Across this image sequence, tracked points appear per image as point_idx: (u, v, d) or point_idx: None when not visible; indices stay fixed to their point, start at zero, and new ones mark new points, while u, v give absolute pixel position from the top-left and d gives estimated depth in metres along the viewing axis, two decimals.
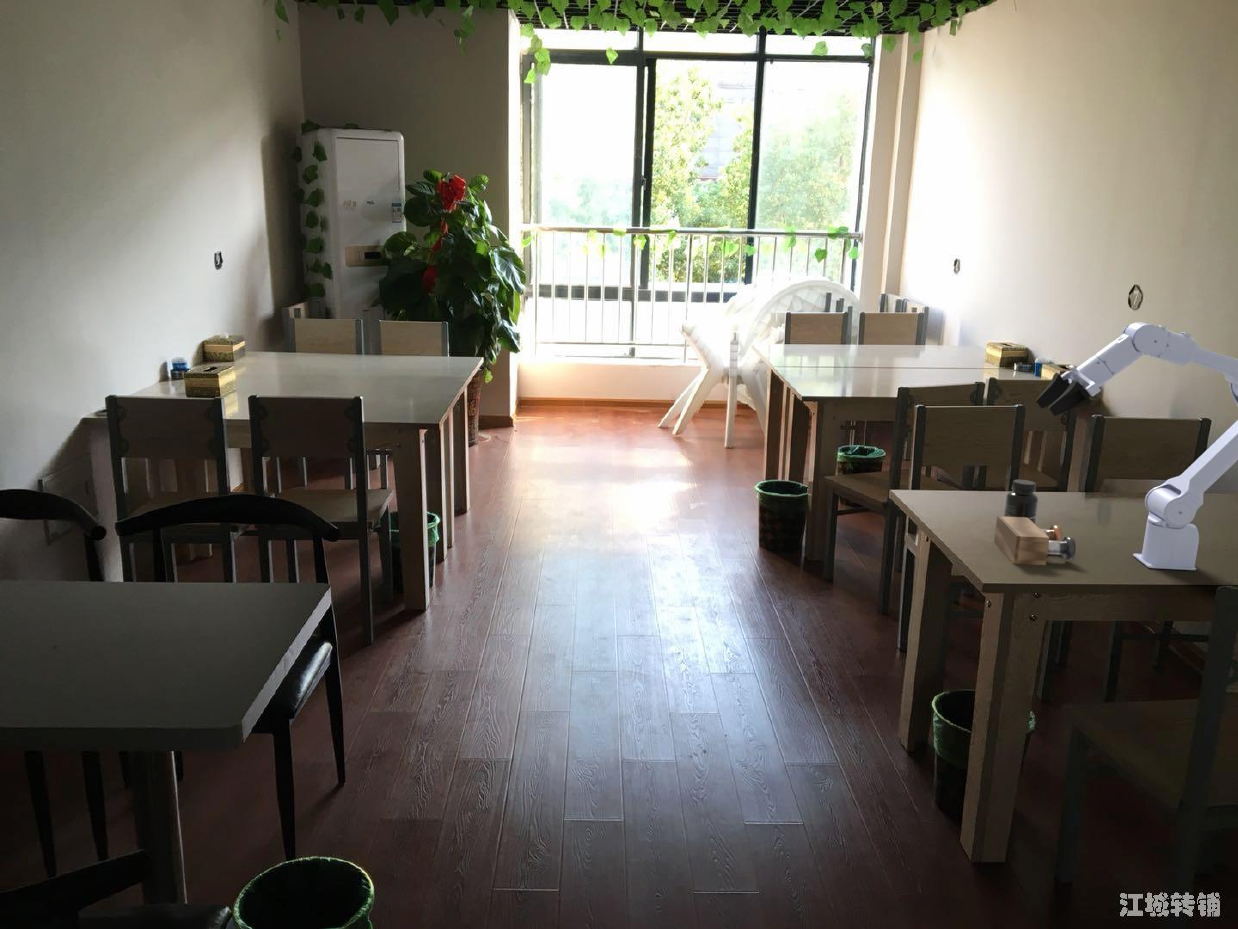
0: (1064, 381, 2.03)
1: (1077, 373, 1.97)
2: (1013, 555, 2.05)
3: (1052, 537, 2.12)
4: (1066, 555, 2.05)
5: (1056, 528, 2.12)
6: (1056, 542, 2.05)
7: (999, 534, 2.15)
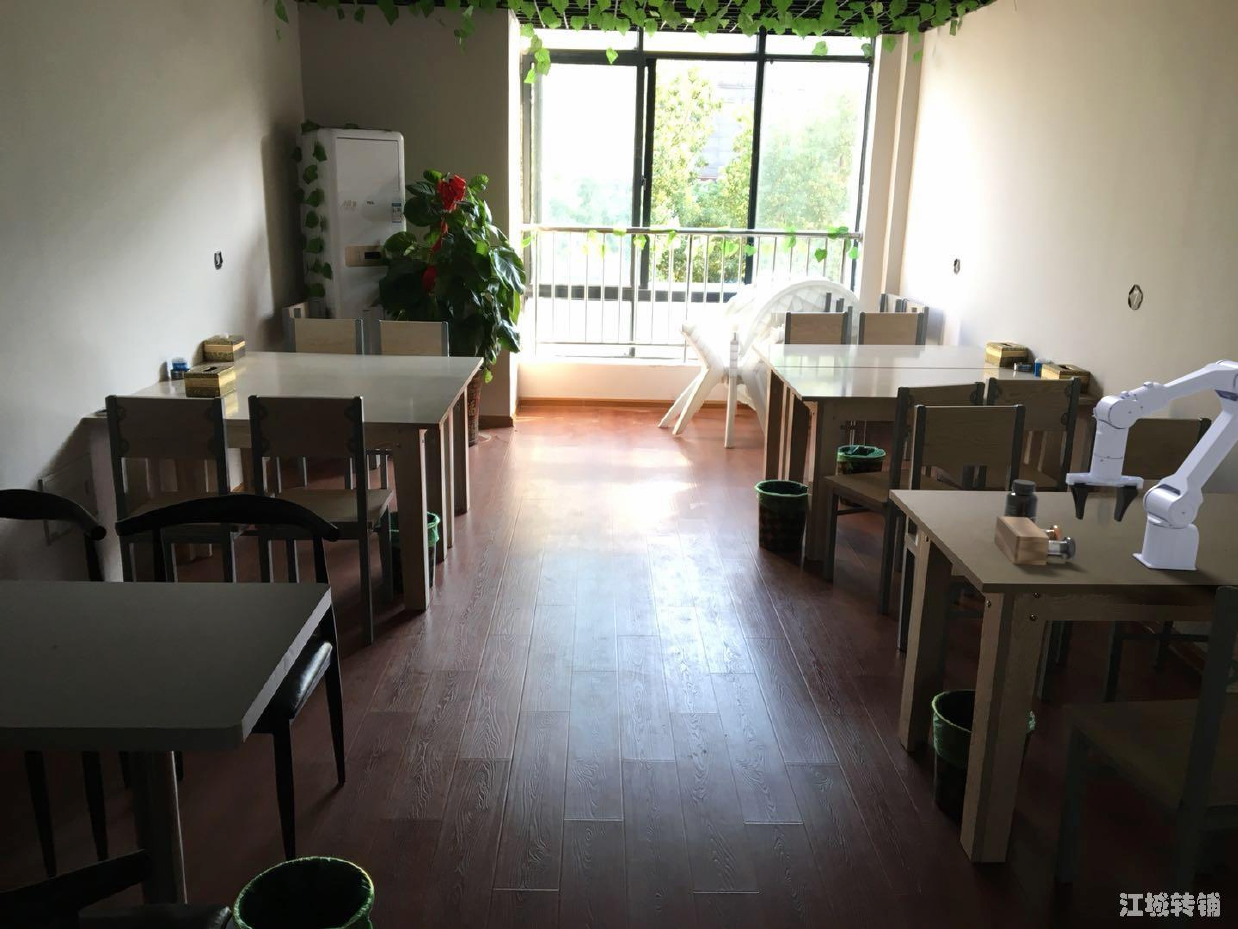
0: (1085, 487, 2.02)
1: (1118, 482, 1.99)
2: (1013, 555, 2.05)
3: (1052, 537, 2.12)
4: (1066, 555, 2.05)
5: (1056, 528, 2.12)
6: (1056, 542, 2.05)
7: (999, 534, 2.15)
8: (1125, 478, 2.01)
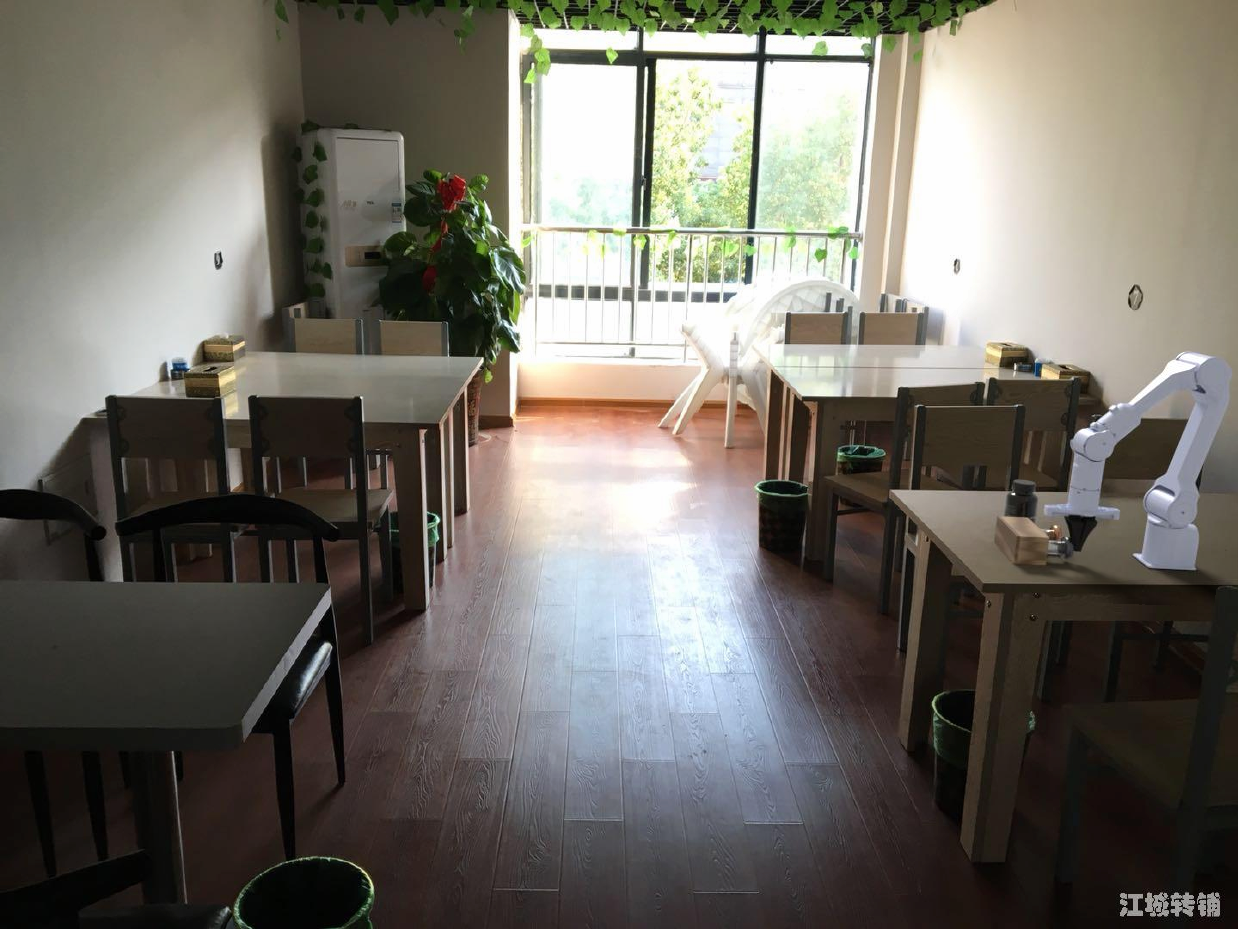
0: None
1: (1095, 514, 2.01)
2: (1013, 555, 2.05)
3: (1052, 537, 2.12)
4: (1064, 555, 2.05)
5: (1056, 528, 2.12)
6: (1054, 542, 2.05)
7: (999, 534, 2.15)
8: (1102, 509, 2.03)
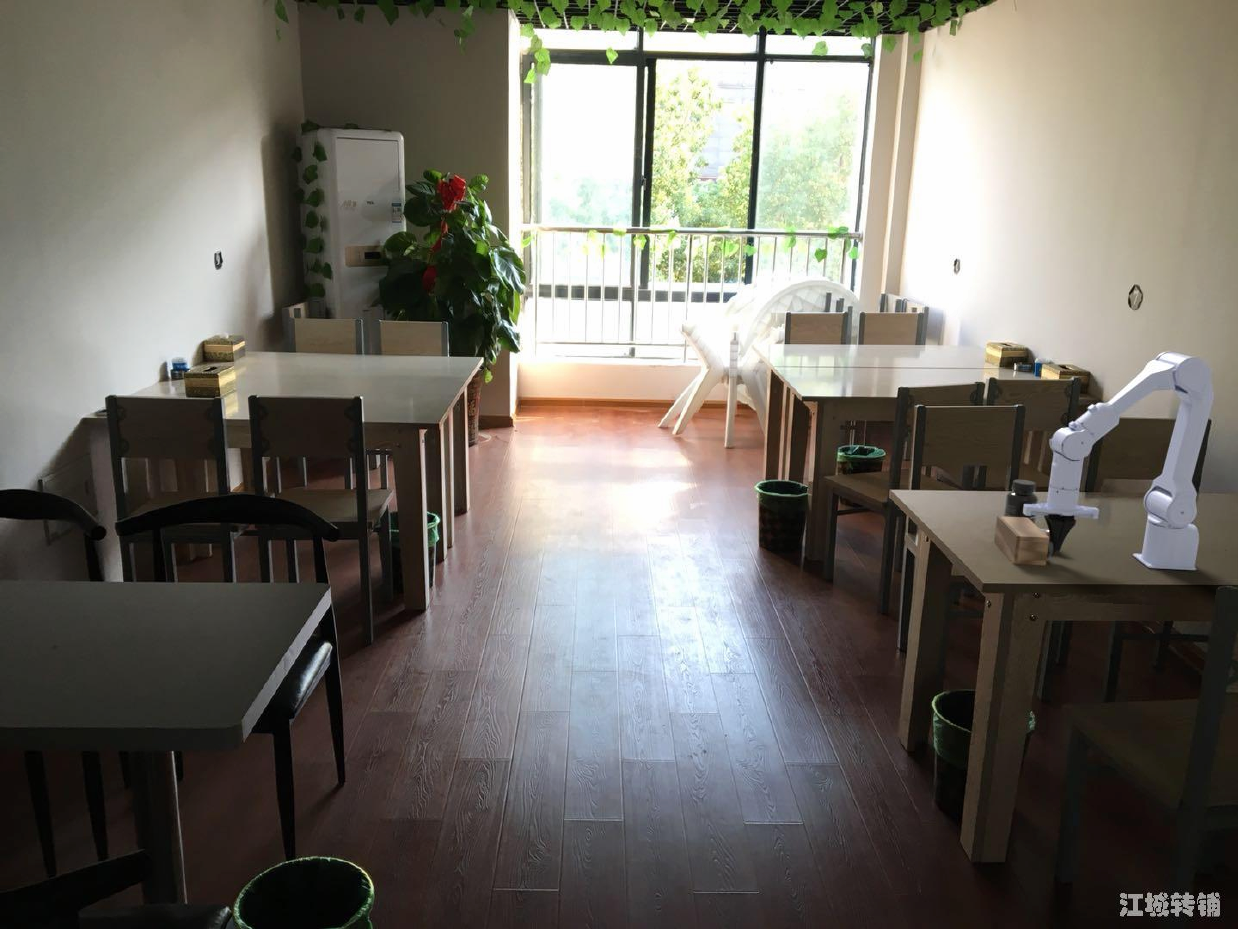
0: (1060, 519, 2.03)
1: (1074, 513, 2.01)
2: (1013, 555, 2.05)
3: None
4: None
5: None
6: None
7: (999, 534, 2.15)
8: (1081, 508, 2.03)
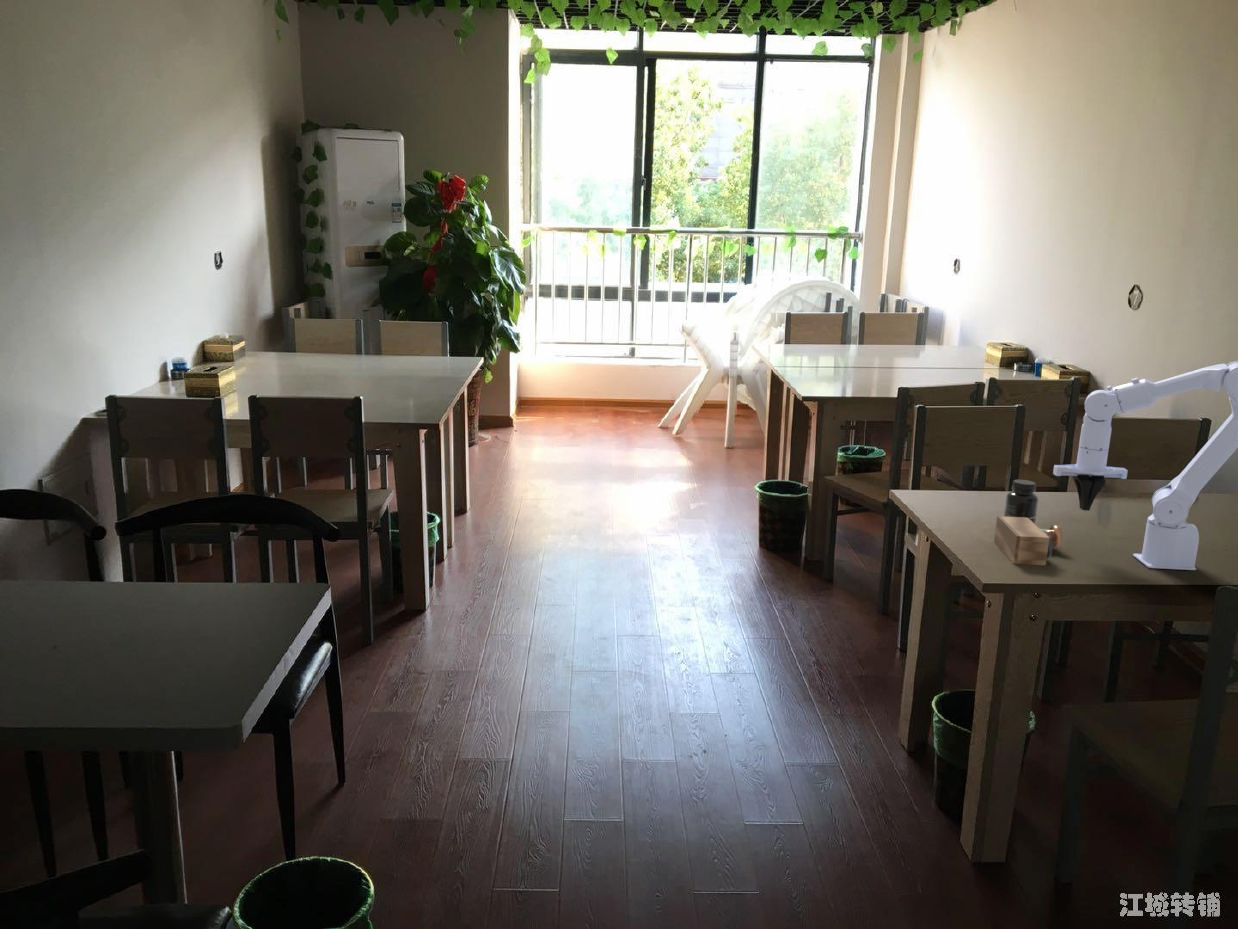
0: (1089, 479, 2.09)
1: (1103, 473, 2.06)
2: (1013, 555, 2.05)
3: (1052, 537, 2.12)
4: None
5: (1056, 528, 2.12)
6: None
7: (999, 534, 2.15)
8: (1110, 469, 2.09)
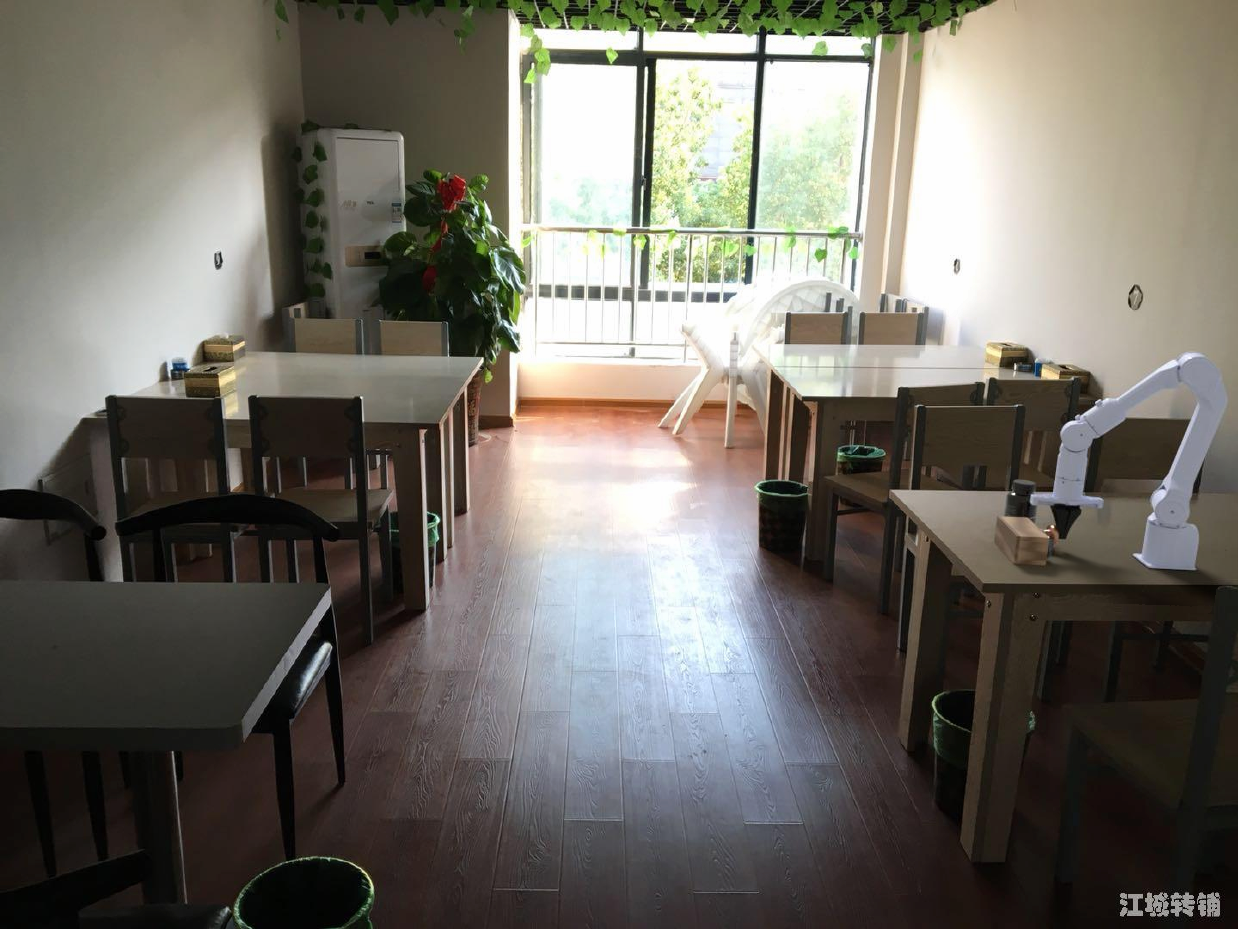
0: None
1: (1079, 503, 2.09)
2: (1013, 555, 2.05)
3: None
4: None
5: (1053, 528, 2.12)
6: None
7: (999, 534, 2.15)
8: (1086, 499, 2.11)
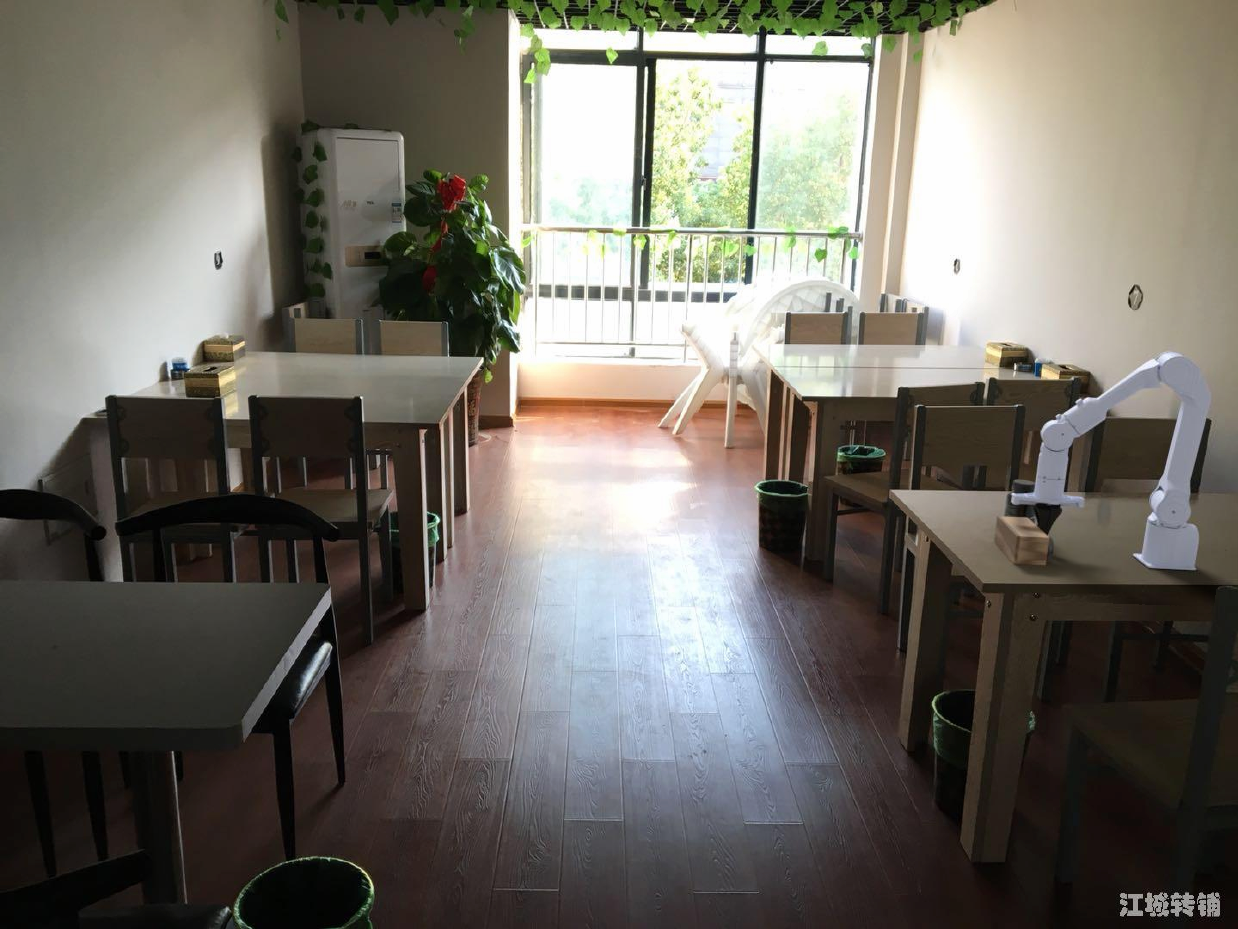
0: None
1: (1060, 502, 2.09)
2: (1013, 555, 2.05)
3: None
4: None
5: None
6: None
7: (999, 534, 2.15)
8: (1067, 498, 2.11)
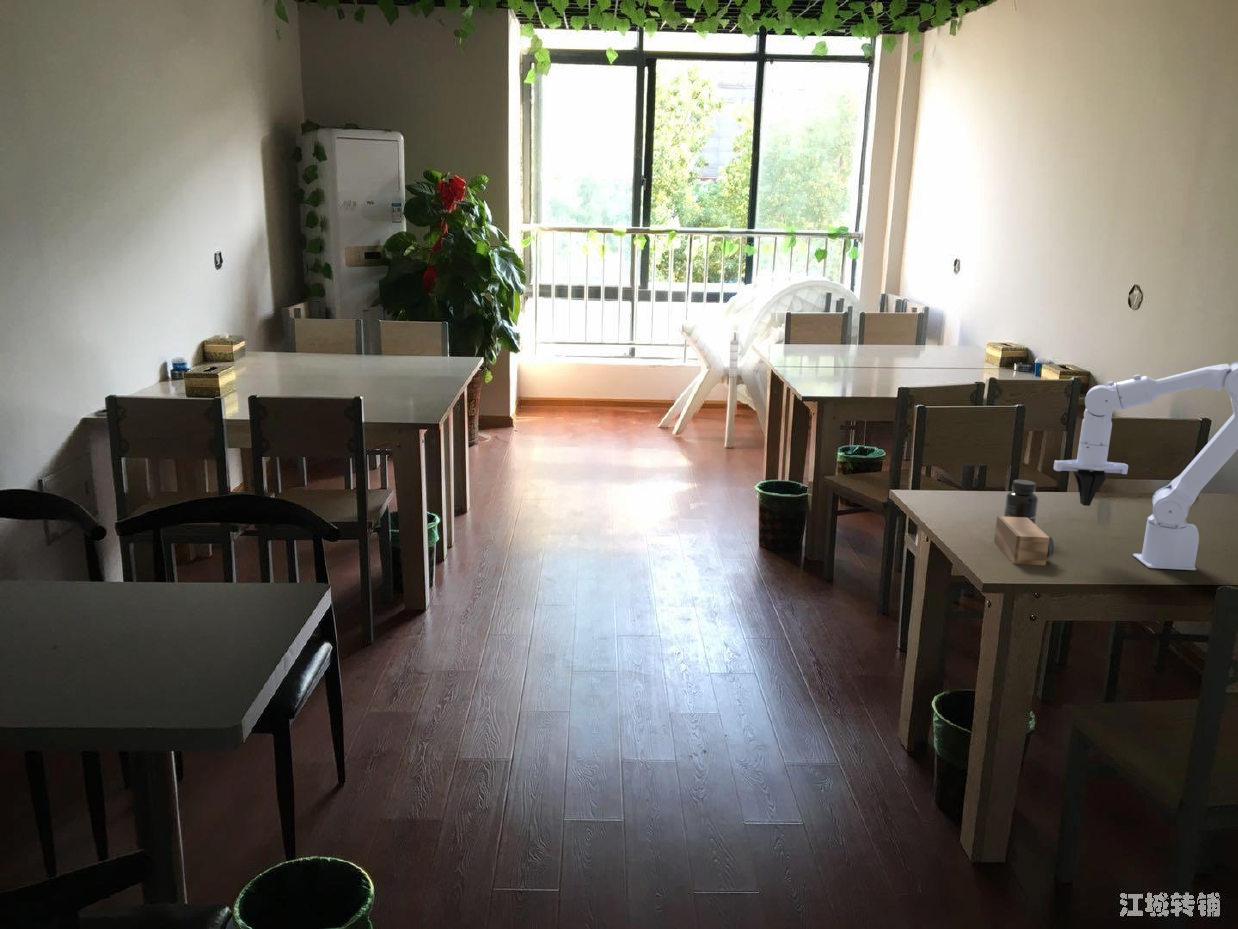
0: (1089, 474, 2.09)
1: (1104, 468, 2.06)
2: (1013, 555, 2.05)
3: None
4: None
5: None
6: None
7: (999, 534, 2.15)
8: (1110, 464, 2.09)
